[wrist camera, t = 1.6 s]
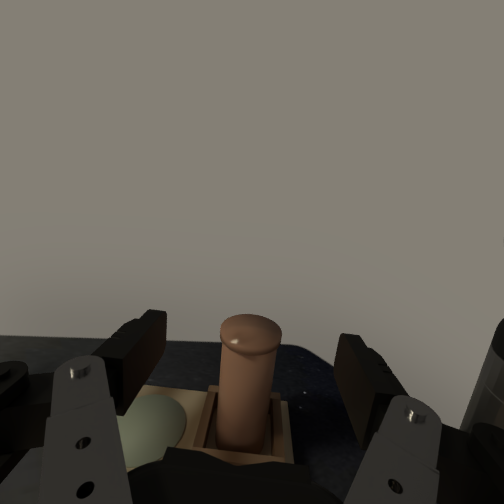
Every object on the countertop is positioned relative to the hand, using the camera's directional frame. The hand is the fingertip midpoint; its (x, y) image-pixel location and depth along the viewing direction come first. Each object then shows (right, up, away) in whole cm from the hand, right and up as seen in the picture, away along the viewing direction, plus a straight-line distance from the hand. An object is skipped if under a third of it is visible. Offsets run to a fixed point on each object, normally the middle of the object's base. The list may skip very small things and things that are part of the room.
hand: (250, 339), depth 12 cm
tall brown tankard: (-1, -17, +18) cm, 25 cm away
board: (-6, -18, +18) cm, 26 cm away
